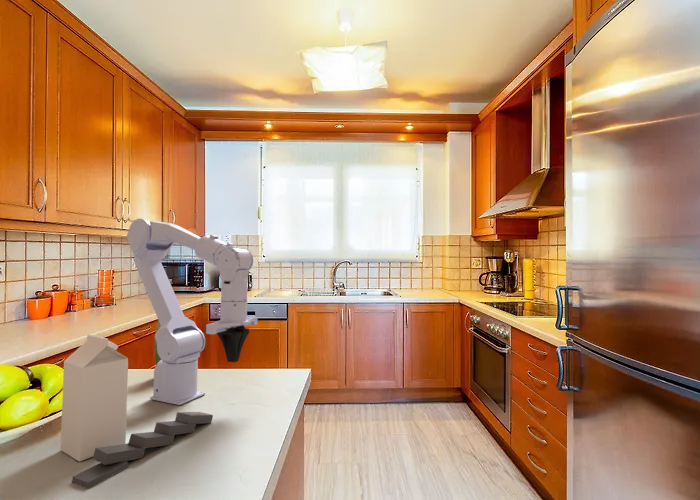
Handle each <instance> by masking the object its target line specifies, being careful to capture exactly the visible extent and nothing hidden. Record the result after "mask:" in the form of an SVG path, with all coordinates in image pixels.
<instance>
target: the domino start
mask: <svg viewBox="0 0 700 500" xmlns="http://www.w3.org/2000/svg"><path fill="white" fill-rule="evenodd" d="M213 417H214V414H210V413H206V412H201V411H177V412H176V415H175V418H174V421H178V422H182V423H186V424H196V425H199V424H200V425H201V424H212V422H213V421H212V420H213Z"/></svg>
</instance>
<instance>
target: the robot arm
mask: <svg viewBox="0 0 700 500" xmlns="http://www.w3.org/2000/svg"><path fill="white" fill-rule="evenodd" d="M130 223H131V224H130V225H129V228H128V231H127V234H126V239H127V241H128V244H129V245H130V249H131V251H132V253H133V260H134V264H135V268H136V270H137V272H138V275H139V277H140V280H141V282H142V284H143V286H144V288H145V290H146V293H147V296H148V298H149V301H150V303H151V305H152V307H153V311H154V313H155V314H156V317H157V321H158V320H159V322H160V325H161V327H160V328H159V330H158V331H157V332H156V331H155V333H156V334H154V340H155V339H156V342H157V352H158V355H159V357H160V358H161V359H162V360H160V361H159V362H158V363H157V365H155V368H154V369H153V389H152V390H153V391H152V392H153V393H152V394H153V395H152V396H150V397H149V399H150V400H154V401H159V402H162V403H167V404H172V405H178V406H181V405H183V404H186V403H189V402H190V401H192V400H195V399H197V398H200V397H201V396H204V395H206V392H205V391H203V390H202V391H201V390H198V374H199V373H198V370H199V365H198V363H199V358H200V356H201V352H202V351H203V350H204V349H205V346H206V337H205V334H207V335H216V334H217V336H218V338H219V339H220V341H221V345H222V347H223V348H224V353H225V357H226V361H227V363H236V362H237V363H238V362H239V359H240V356H241V352H242V349H243V346H244V344H245V341H246V339H247V337H248V336H249V334H250V328H249V327H250V326H252V325H253V326H256V325H258V316H255V315H254V316H253V315H250V316H248V289H249V288H248V286H249V284H248V282H249V279H248V278H249V275H248V274H249V271H250V270H251V269H252V267H253V264H254V257H253V254H252V252H251V251H250V250H248V249H247V248H246V247H235V244H234V243H232V242H225V241H223V240H221V239H219V236H218V235H216V234H208V235H204V236H199V235H197V234H195V233H193V232H192V231H189V230H188V229H185V228H184V227H181V226H179V225H178V224H174V223H172V222H167V221H165V222H164V221H157V220H155V221H154V220H149V219H144V218H136V219H134V220H133V221H131V222H130ZM176 243H177V244H179V245H182V246H184V247H186V248H189V249H192V250H194V253H195V256H196V257H197V258H199V259H200V260H203V261H205V262H206V263H207V262H208V263H209V264H211V265H213V266H216V268H217V269H218V271H219V277H220V278H219V279H220V281H221V284H220V285H221V287H220V289H221V290H220V291H221V293H220V320H217V321H214V322H212V323H208V324H206V325H205V327H206V329H205V330H206V331H205V334H204V333H203V332H202V330H201V329H200V328H198V326H197V324H196V322H195V321H194V320H193V319H190V318H189V317H187V316H185V314H184V312H183V310H182V308H181V307H182V306H181V305H180V303H179V300H178V298H177V295H176V294H175V290H174V289H173V287H172V286H173V285H172V284H171V281H170V280H169V277H168V275H167V273H166V270H165V268H164V266H163V264H162V259H164V258H165V257H166V256H167V255H168V253H169V251H170V250H171V248H172V247H173V245H174V244H176ZM248 326H249V327H248ZM246 327H248V328H246Z"/></svg>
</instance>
